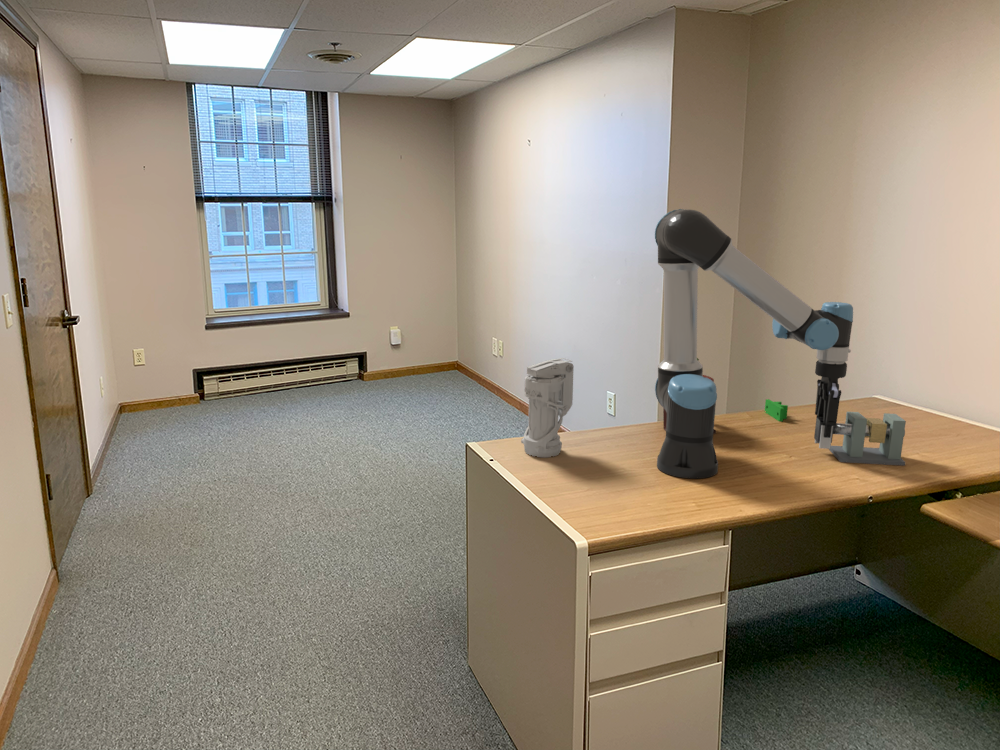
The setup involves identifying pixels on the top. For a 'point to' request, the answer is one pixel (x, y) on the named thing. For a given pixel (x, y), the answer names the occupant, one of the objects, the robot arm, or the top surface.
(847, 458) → the bearing stand
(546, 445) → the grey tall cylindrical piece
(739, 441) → the top surface
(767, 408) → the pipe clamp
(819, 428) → the shaft
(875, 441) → the spacer
